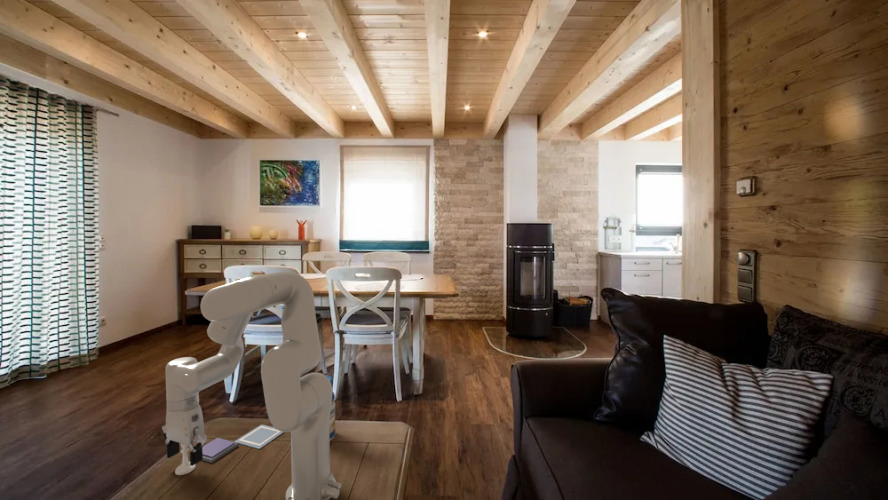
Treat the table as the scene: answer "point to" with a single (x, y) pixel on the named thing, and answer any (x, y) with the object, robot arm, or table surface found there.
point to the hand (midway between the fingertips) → (184, 458)
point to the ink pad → (217, 449)
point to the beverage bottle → (332, 413)
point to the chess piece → (184, 462)
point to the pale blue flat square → (259, 436)
